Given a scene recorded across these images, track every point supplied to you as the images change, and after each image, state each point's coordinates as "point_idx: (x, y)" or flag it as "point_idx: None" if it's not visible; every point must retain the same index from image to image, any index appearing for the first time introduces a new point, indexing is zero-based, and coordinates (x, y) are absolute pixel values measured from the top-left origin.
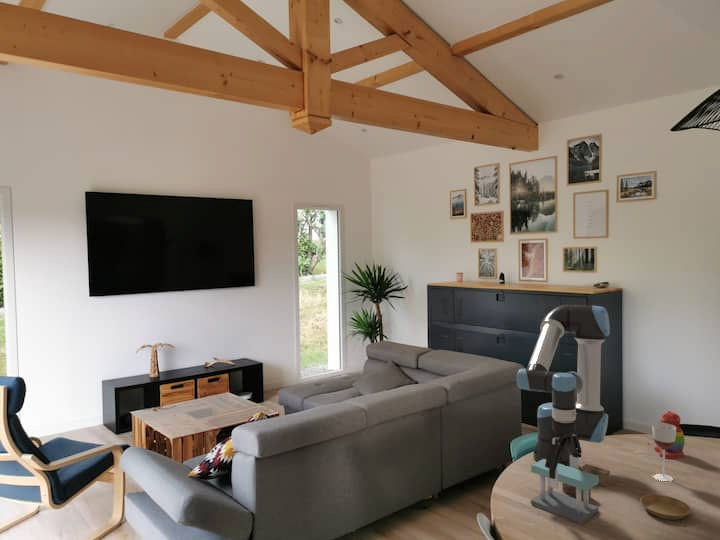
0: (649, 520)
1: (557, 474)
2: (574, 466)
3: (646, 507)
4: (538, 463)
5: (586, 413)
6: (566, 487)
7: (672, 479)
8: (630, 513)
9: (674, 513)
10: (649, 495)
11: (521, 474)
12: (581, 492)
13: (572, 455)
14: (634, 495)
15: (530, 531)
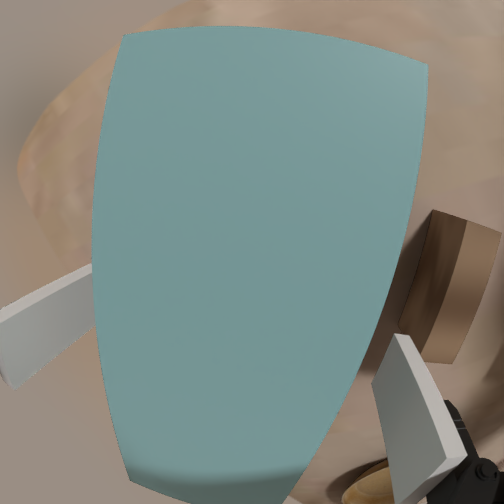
0: (329, 470)
1: (37, 363)
2: (394, 421)
3: (365, 477)
4: (211, 60)
5: None
6: (439, 235)
7: None
8: (350, 442)
9: (390, 486)
10: None
11: (463, 13)
12: (413, 315)
13: (452, 477)
14: (473, 415)
15: (45, 221)
